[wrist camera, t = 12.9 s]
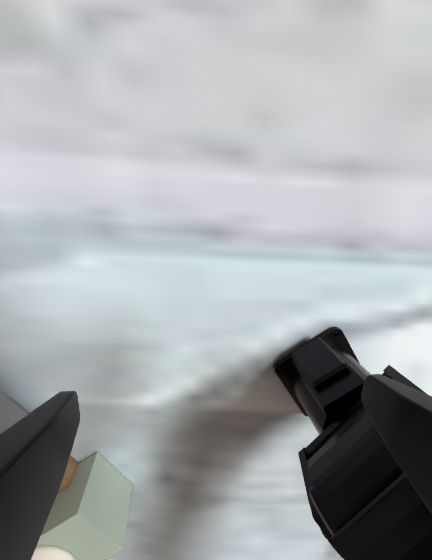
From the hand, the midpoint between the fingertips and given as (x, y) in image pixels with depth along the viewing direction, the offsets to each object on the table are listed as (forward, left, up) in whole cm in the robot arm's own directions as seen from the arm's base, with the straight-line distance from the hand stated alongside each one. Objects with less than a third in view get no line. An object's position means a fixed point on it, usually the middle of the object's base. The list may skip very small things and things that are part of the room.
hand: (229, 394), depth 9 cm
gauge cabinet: (-11, +21, -13) cm, 27 cm away
